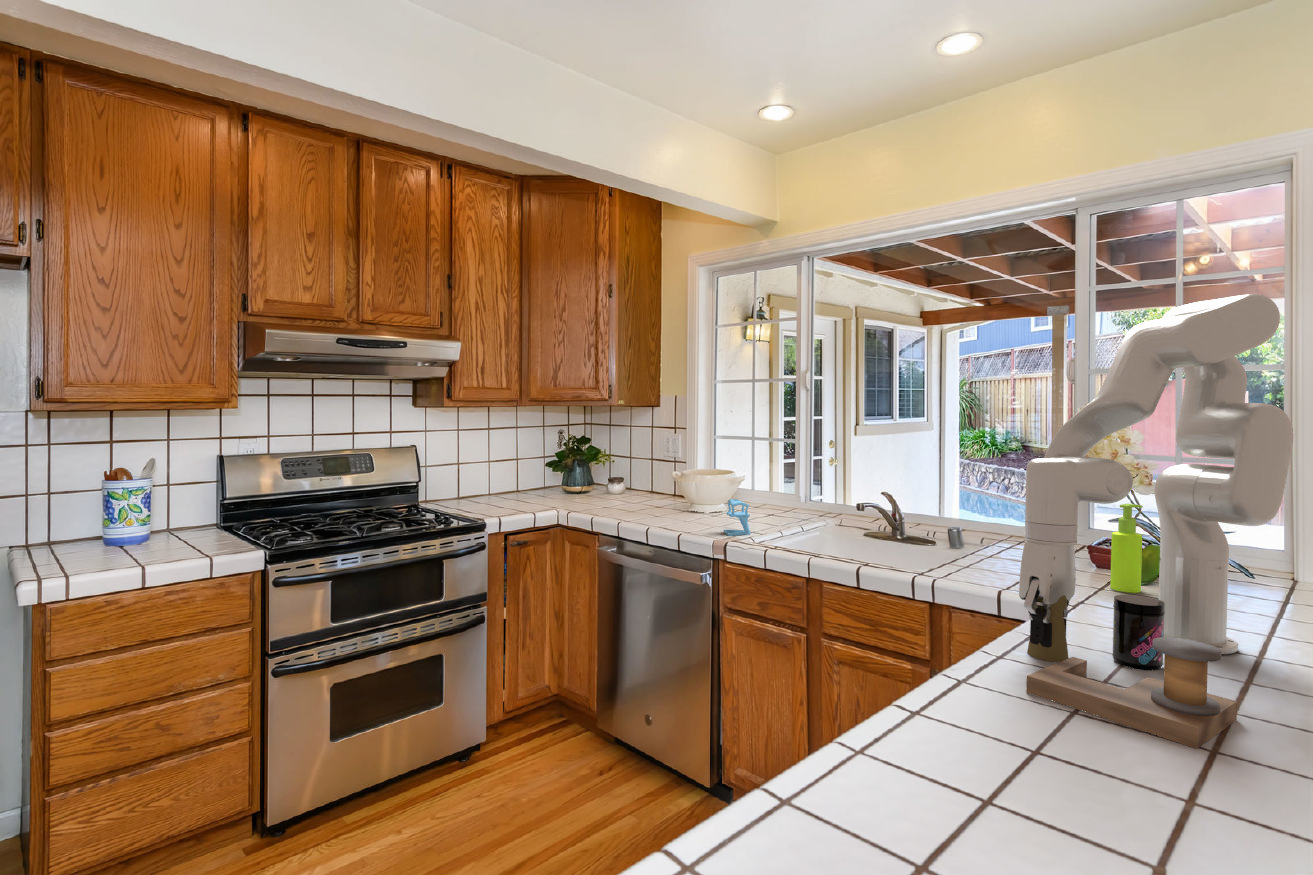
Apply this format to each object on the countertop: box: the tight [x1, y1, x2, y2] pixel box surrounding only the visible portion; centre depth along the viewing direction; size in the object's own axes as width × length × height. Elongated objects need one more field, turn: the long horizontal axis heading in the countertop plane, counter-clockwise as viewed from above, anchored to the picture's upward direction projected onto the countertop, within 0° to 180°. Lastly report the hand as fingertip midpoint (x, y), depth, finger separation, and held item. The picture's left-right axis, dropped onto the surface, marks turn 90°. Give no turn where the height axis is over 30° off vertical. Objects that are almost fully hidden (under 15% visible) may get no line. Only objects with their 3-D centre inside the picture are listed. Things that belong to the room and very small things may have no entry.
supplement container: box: [1112, 594, 1165, 671], centre depth 109 cm, size 7×7×10 cm
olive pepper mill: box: [1026, 595, 1070, 663], centre depth 113 cm, size 6×6×11 cm
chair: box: [723, 498, 751, 537], centre depth 232 cm, size 8×8×12 cm
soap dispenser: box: [1109, 503, 1143, 594], centre depth 158 cm, size 6×7×20 cm
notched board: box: [1025, 637, 1238, 750], centre depth 93 cm, size 14×20×10 cm
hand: (1047, 641), depth 113 cm, fingers closed on olive pepper mill, 4 cm apart
